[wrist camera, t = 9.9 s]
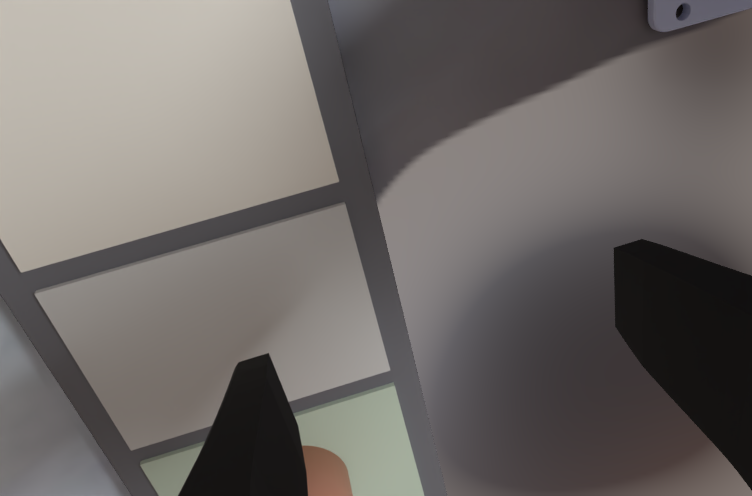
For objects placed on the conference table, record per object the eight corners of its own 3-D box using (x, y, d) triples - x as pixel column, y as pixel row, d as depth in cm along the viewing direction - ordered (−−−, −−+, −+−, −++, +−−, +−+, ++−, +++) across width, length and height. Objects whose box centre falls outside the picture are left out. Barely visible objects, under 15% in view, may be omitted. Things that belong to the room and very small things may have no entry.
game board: (174, -614, 12) (168, -665, 11) (441, 480, 28) (449, 501, 27) (-474, -490, 11) (-549, -534, 10) (190, 562, 27) (188, 586, 26)
